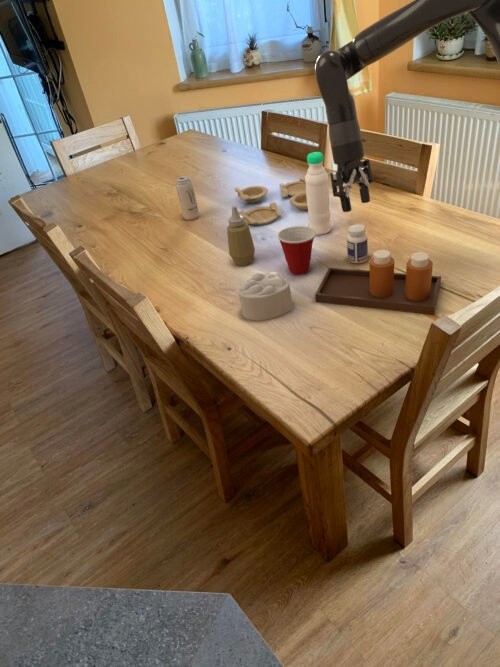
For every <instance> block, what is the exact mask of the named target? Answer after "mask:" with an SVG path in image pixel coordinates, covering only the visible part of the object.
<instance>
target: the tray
mask: <svg viewBox="0 0 500 667" xmlns="http://www.w3.org/2000/svg"><path fill="white" fill-rule="evenodd" d="M441 284H442V276H440V275H432V279H431V290H430V296H429V298H428V299H426V300H423V301H414V300H410V299H408V298H407V297H406V295H405V287H406V273H403V272H394V290H393V293H392V294H391V295H389V296H387V297H376V296H373V295H372V294H371V293H370V270H366V269H353V268H340V267H328V269H327V270H326V273H325V275H324V277H323V278H322V280H321V282H320V283H319V286H318V288H317V290H316V292H315V294H314V296H315V297H314V298H315V302H316V303H323V304H324V303H325V304H334V305H342V306H343V305H344V306H352V307H361V308H371V309H378V310H387V311H398V312H405V313H414V314H424V315H425V314H426V315H433V316H434V315H435V312H436V307H437V302H438V298H439V293H440V288H441Z"/></svg>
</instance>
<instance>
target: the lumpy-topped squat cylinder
mask: <svg viewBox="0 0 500 667" xmlns="http://www.w3.org/2000/svg"><path fill="white" fill-rule="evenodd" d="M238 298H239V303H240V308H241V313H242V316H243V317H244V318H245V319H247V320H251V321H267V320H272V319H274V318H277V317H280V316H282V315H284V314H286V313H287V314H288V312H290V311H291V310H292V309H293V300H292V292H291V285H290V282H289V281H288V280H287V279H285V277H284V276H283V274H281V273H280V272H279V271H270V272H265V273H261V272H256V273H254V274H252V276H251V277H250V278H249V279H247V280H246V281H245V282H243V283H242V284H241V285H240V287H239V289H238Z"/></svg>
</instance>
